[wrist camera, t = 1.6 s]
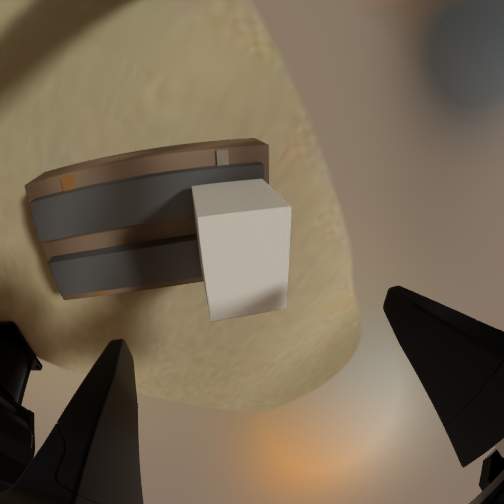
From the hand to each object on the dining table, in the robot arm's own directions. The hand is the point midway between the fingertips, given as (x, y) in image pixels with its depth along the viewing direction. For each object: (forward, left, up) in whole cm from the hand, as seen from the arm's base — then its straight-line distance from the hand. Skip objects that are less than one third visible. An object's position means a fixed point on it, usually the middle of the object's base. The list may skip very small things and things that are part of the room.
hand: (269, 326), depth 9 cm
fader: (0, 0, -8) cm, 8 cm away
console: (0, +4, -12) cm, 13 cm away
